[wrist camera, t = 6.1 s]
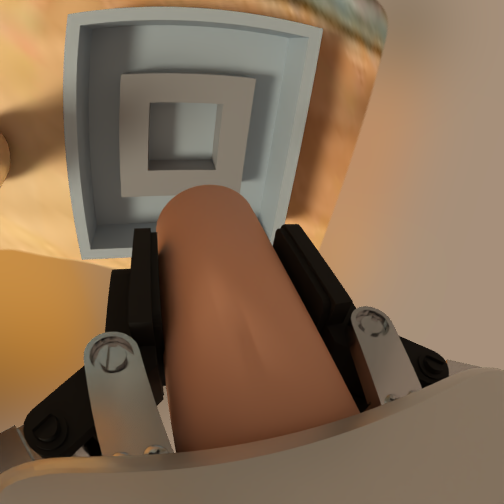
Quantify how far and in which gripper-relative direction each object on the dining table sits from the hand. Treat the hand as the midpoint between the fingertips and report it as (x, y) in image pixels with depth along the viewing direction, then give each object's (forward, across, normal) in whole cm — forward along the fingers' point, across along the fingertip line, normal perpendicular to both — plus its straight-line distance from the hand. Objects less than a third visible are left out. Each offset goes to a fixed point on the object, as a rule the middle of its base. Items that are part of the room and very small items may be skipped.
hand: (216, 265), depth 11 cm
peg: (+2, 0, 0) cm, 2 cm away
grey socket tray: (+19, 0, 0) cm, 19 cm away
